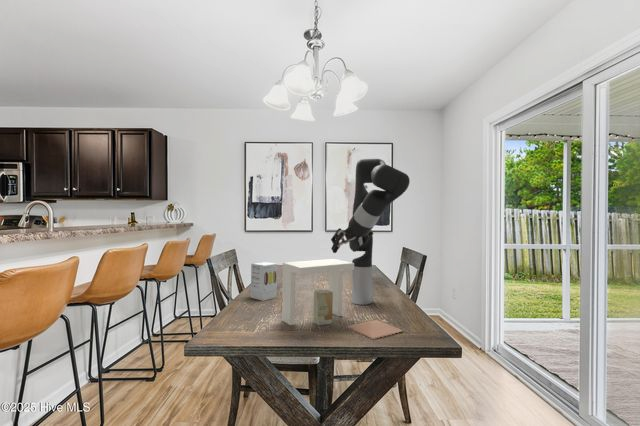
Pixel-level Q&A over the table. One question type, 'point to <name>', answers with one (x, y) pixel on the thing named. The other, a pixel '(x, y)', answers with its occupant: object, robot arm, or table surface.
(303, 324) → the table surface
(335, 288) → the white stool
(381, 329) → the terracotta tile
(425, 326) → the table surface
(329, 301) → the skincare box
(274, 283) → the supplement box
